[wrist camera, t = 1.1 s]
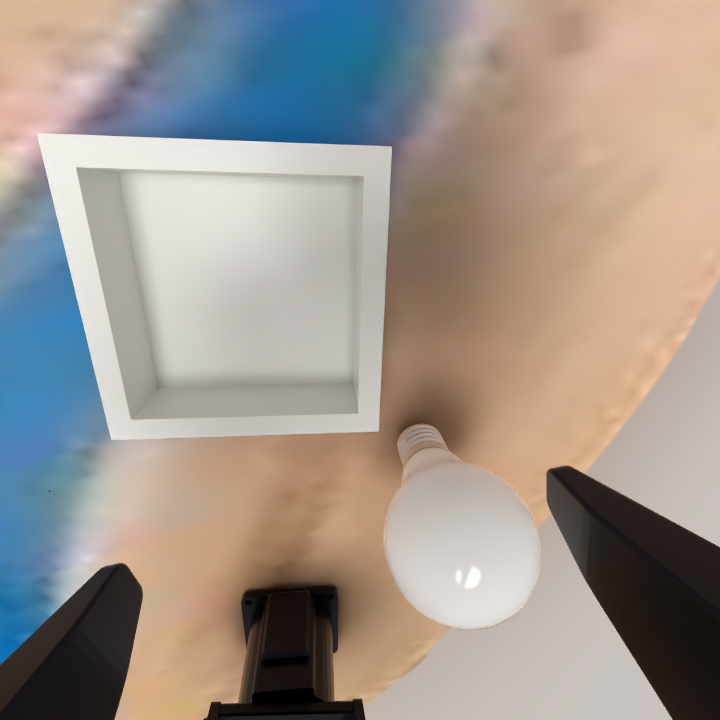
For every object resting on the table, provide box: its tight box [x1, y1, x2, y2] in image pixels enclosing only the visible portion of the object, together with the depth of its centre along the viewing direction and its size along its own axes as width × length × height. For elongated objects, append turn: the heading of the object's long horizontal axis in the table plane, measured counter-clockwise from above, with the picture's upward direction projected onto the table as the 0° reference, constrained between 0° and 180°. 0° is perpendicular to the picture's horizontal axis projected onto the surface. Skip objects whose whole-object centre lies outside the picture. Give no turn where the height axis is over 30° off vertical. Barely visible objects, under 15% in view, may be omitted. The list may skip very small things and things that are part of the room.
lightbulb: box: [383, 424, 542, 630], centre depth 19 cm, size 6×6×11 cm
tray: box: [37, 133, 392, 440], centre depth 18 cm, size 12×12×4 cm
